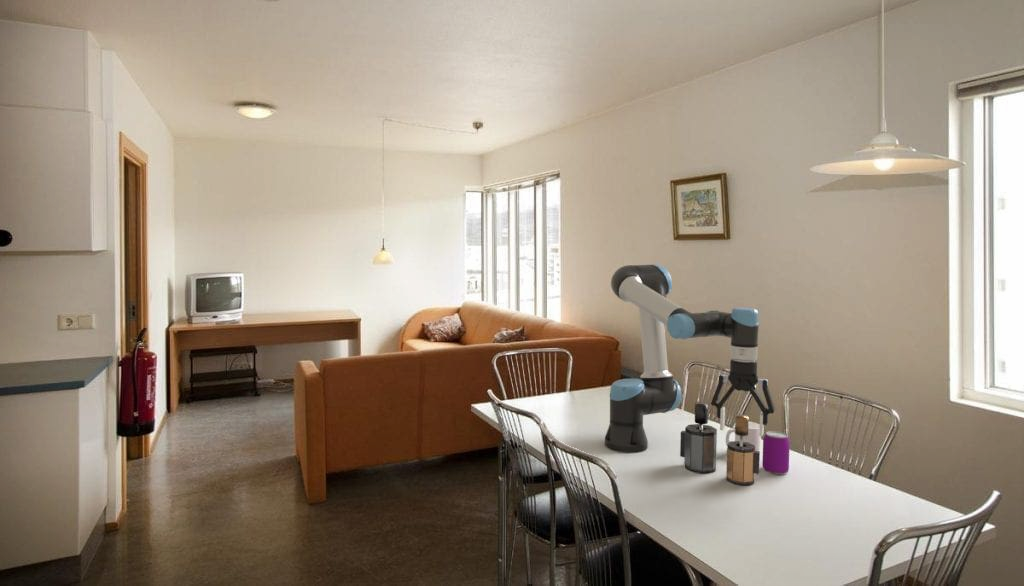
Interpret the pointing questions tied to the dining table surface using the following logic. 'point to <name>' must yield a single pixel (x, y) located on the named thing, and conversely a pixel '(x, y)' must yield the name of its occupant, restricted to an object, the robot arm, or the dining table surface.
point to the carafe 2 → (742, 463)
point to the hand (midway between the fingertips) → (741, 432)
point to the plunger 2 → (741, 426)
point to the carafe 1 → (699, 448)
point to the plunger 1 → (701, 414)
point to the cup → (749, 436)
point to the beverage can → (776, 452)
